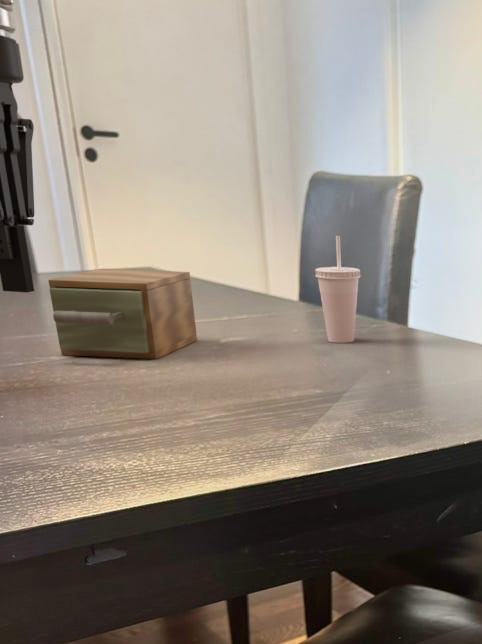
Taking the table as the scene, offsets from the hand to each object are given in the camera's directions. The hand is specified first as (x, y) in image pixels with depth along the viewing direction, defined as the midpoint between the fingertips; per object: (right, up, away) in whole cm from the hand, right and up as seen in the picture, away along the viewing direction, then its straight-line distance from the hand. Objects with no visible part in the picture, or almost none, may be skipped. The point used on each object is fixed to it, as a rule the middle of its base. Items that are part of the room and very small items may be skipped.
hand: (18, 290), depth 99 cm
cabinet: (+3, +2, +24) cm, 25 cm away
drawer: (+3, +1, +20) cm, 21 cm away
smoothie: (+30, +5, +33) cm, 45 cm away
